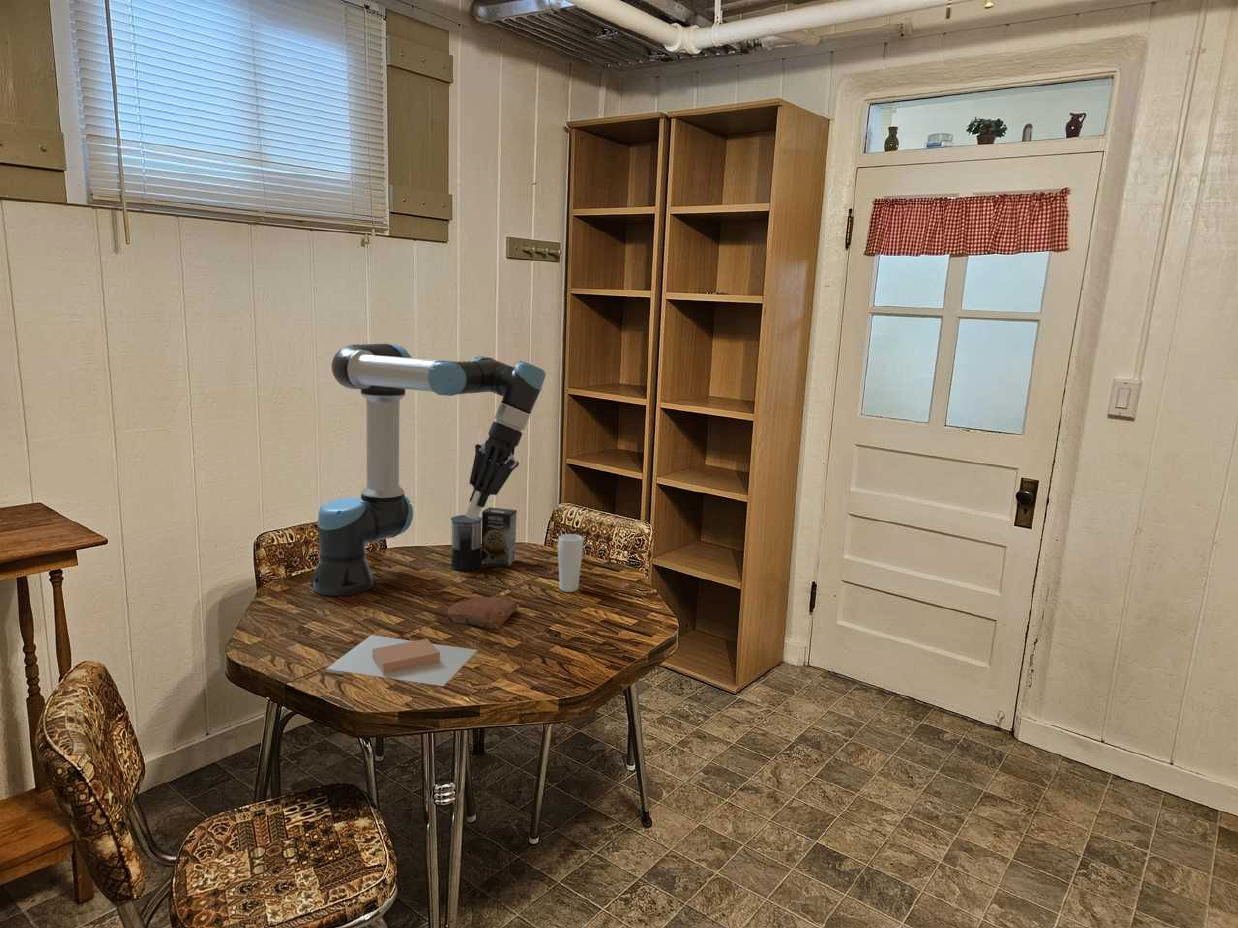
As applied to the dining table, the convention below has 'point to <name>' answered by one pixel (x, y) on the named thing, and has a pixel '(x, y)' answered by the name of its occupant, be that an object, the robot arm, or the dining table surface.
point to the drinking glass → (569, 561)
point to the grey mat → (431, 674)
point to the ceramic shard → (483, 611)
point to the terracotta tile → (405, 656)
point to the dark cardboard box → (498, 535)
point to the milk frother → (468, 544)
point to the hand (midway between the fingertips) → (471, 517)
